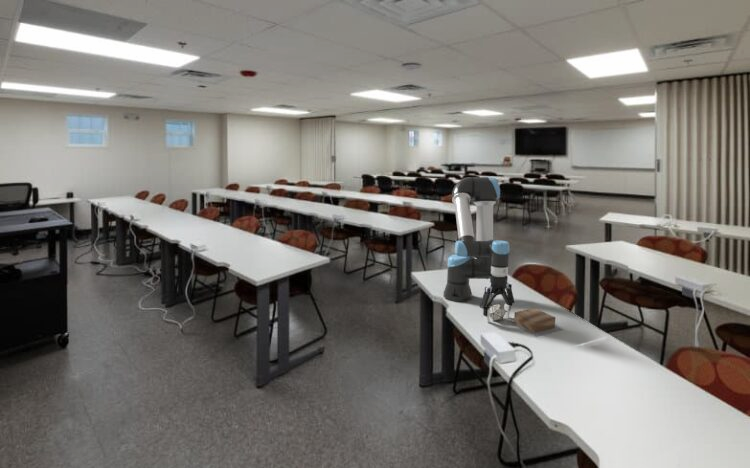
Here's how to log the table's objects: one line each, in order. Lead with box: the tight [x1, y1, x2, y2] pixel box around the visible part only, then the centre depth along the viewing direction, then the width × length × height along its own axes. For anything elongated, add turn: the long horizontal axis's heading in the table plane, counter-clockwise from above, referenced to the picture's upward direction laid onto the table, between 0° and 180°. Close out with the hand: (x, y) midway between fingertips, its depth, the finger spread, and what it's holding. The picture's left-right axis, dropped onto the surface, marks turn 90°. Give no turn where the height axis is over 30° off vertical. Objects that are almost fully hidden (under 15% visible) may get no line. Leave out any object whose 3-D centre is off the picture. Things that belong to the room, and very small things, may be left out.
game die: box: [489, 302, 508, 323], centre depth 182 cm, size 9×8×10 cm
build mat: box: [506, 318, 564, 338], centre depth 176 cm, size 18×16×1 cm
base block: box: [513, 307, 557, 333], centre depth 176 cm, size 12×12×5 cm
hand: (496, 320), depth 183 cm, fingers open, 11 cm apart
